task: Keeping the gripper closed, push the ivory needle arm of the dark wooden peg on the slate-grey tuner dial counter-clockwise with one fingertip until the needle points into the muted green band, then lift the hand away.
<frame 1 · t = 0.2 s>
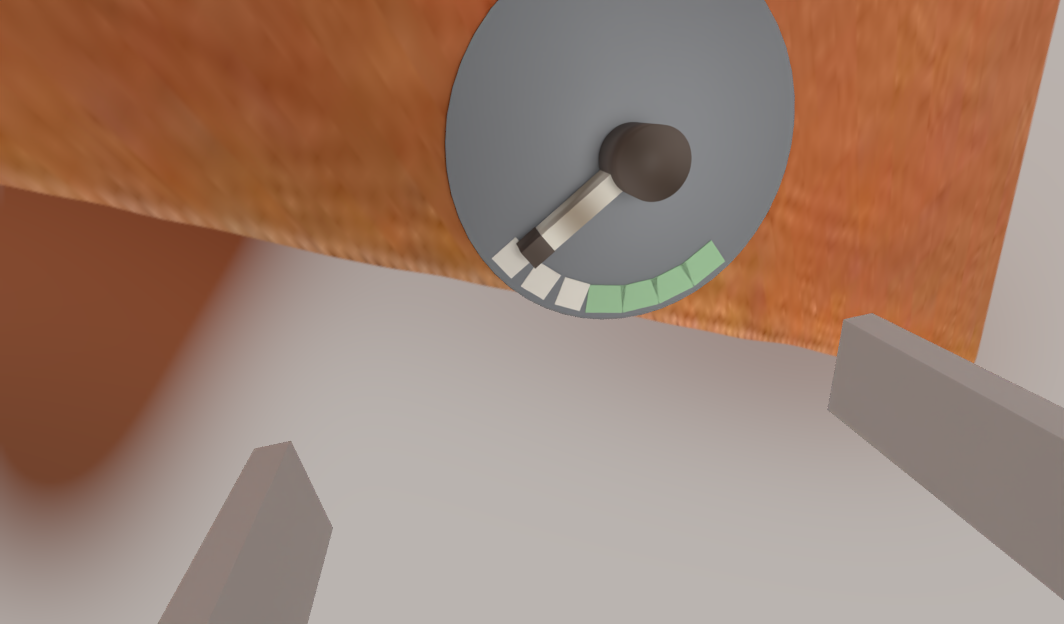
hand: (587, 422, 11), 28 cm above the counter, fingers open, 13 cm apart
needle: (596, 200, 34), point 3 cm above the counter, hinge at 0.0°
dial: (625, 155, 36), on the counter
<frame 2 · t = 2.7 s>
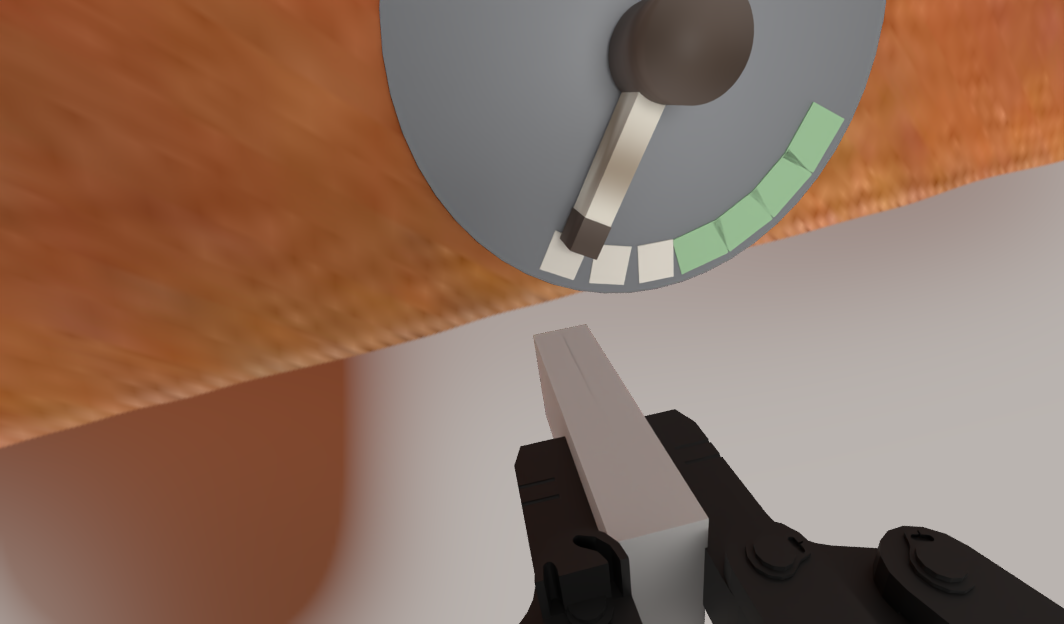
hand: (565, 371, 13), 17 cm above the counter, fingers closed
needle: (635, 136, 24), point 3 cm above the counter, hinge at 0.0°
dial: (646, 54, 25), on the counter
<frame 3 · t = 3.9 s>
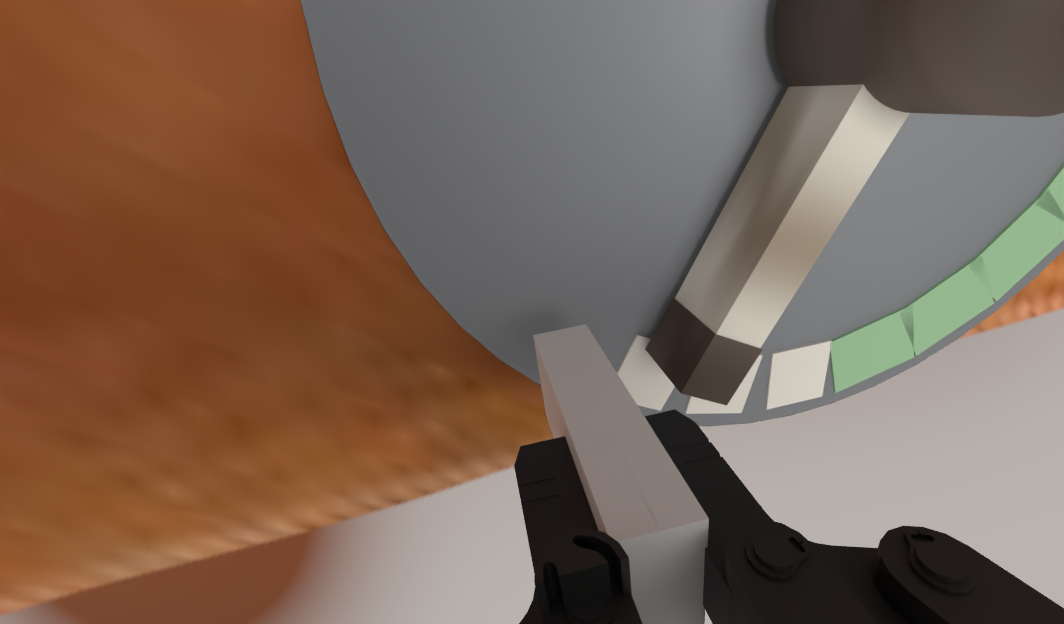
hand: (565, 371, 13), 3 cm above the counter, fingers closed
needle: (838, 177, 11), point 3 cm above the counter, hinge at 0.0°
dial: (835, 12, 13), on the counter
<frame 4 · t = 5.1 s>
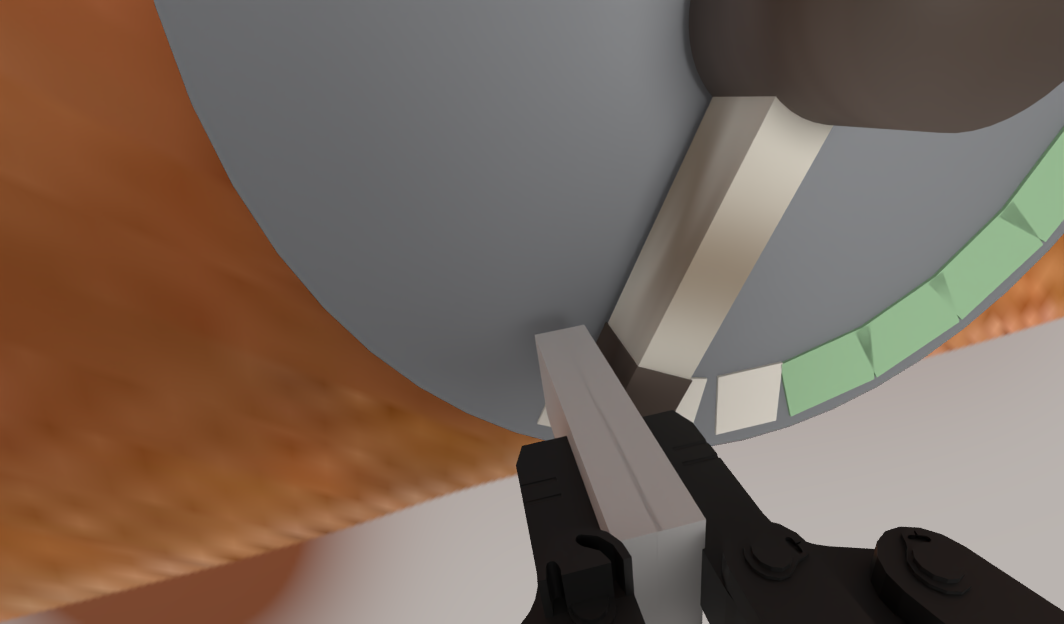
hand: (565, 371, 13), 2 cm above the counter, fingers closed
needle: (758, 197, 10), point 3 cm above the counter, hinge at 1.1°, touching gripper
dial: (763, 14, 12), on the counter
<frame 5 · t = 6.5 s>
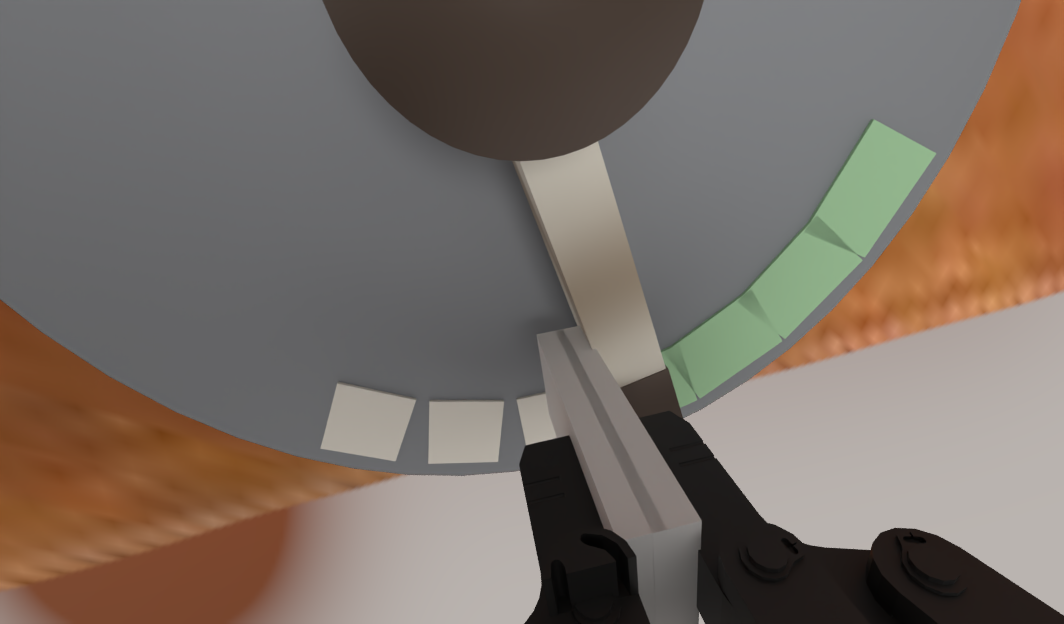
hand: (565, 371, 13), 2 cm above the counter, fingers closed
needle: (580, 214, 10), point 3 cm above the counter, hinge at 42.8°, touching gripper
dial: (489, 16, 11), on the counter
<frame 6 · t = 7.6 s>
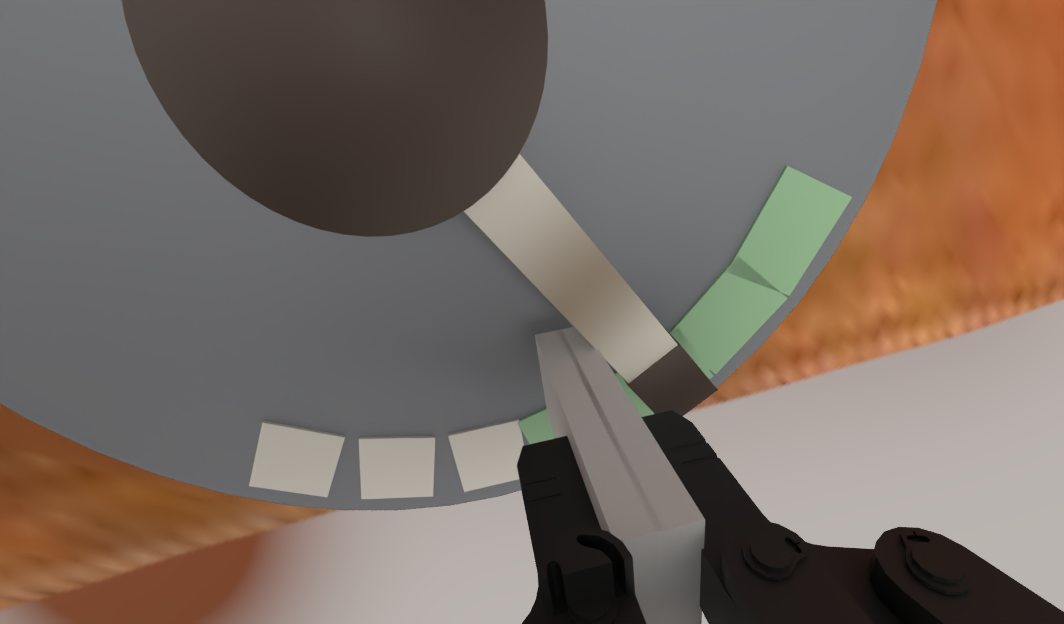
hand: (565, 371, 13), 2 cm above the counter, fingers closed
needle: (534, 232, 10), point 3 cm above the counter, hinge at 62.3°, touching gripper
dial: (398, 68, 11), on the counter
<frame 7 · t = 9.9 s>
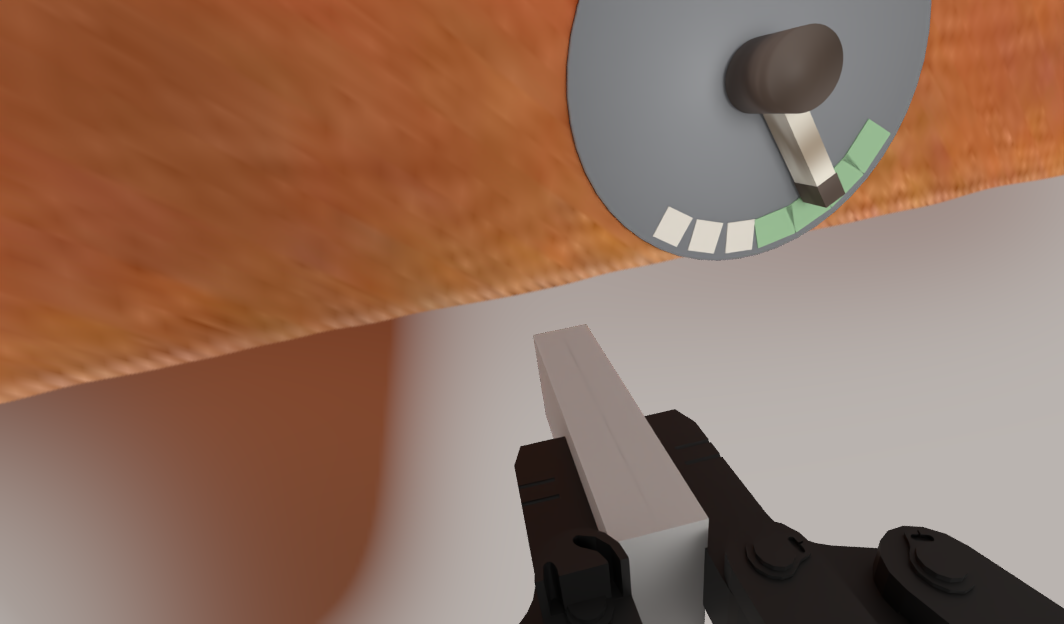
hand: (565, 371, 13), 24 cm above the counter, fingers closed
needle: (803, 126, 33), point 3 cm above the counter, hinge at 62.5°
dial: (750, 77, 34), on the counter
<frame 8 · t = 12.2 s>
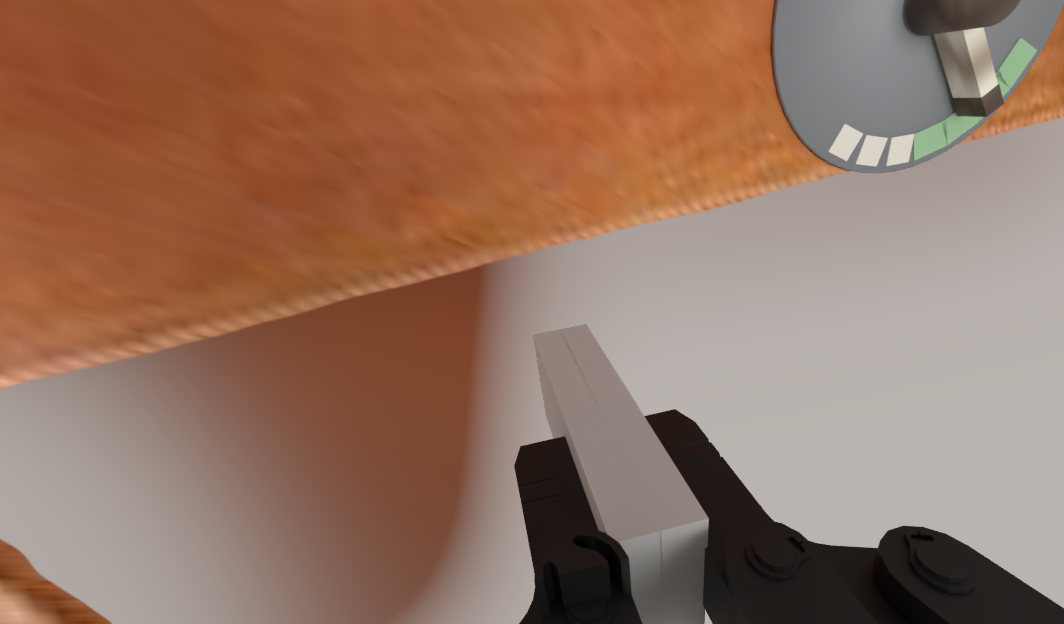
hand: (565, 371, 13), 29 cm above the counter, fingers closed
needle: (976, 42, 38), point 3 cm above the counter, hinge at 62.5°
dial: (923, 3, 39), on the counter
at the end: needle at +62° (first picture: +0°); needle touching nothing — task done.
